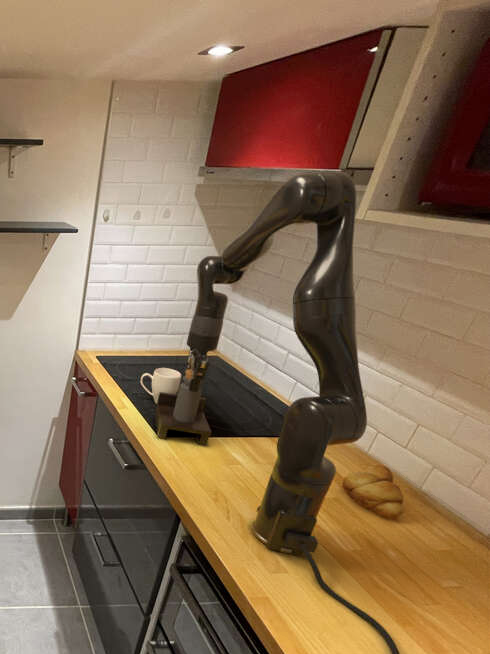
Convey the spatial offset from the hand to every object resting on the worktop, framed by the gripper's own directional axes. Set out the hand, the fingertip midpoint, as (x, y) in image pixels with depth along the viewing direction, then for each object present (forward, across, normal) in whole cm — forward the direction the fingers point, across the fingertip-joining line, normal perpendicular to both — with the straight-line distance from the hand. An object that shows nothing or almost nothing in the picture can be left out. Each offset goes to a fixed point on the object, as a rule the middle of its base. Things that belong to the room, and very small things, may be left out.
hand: (191, 386), depth 128 cm
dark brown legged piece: (+16, -1, 0) cm, 16 cm away
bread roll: (+16, +20, +39) cm, 47 cm away
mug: (+16, -20, -5) cm, 26 cm away
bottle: (+11, 0, 0) cm, 11 cm away
